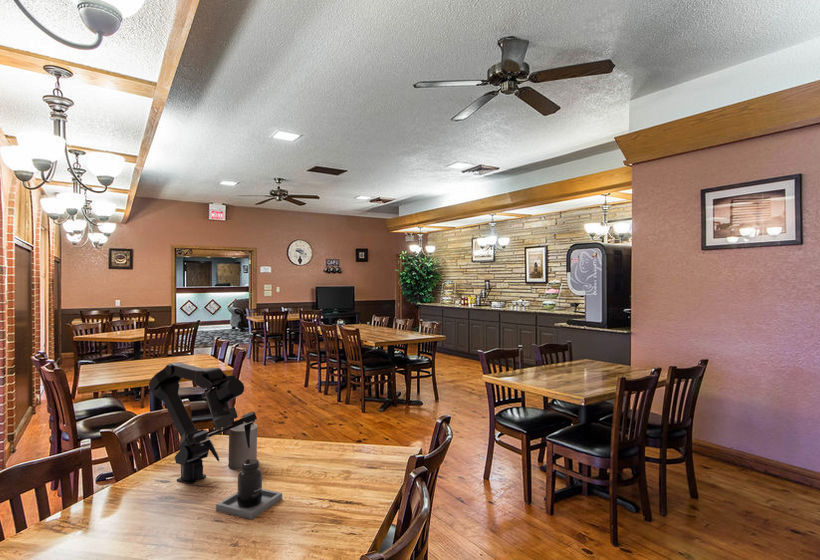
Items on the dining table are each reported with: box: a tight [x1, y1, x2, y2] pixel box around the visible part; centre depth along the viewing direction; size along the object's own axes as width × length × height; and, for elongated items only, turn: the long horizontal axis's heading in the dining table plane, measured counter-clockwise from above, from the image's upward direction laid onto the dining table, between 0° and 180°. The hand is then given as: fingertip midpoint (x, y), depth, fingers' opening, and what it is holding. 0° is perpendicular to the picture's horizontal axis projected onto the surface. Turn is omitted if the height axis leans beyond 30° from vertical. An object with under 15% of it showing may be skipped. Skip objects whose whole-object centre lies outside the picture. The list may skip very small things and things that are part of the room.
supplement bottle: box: [237, 458, 263, 508], centre depth 132 cm, size 7×7×12 cm
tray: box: [215, 488, 283, 521], centre depth 132 cm, size 13×13×2 cm
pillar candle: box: [227, 422, 258, 471], centre depth 161 cm, size 10×10×15 cm
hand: (234, 454), depth 139 cm, fingers open, 9 cm apart
